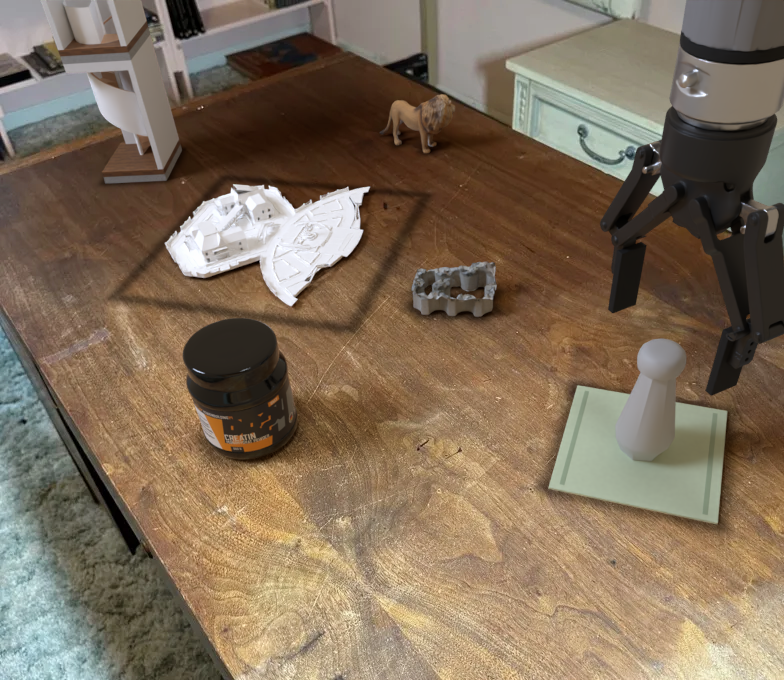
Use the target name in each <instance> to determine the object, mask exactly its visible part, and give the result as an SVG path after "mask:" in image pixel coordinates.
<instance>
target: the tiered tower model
mask: <svg viewBox="0 0 784 680" xmlns="http://www.w3.org/2000/svg"><path fill="white" fill-rule="evenodd" d="M39 2H40V3H41V7H42V9H43V13H44V15H45V18H46V20H47V23H48V26H49V30H50V33H51V35H52V37H53V40H54V43H55V46H56V49H57V51H58V54H59V58H60V60H61V63H62V66H63V69H64V72H65V73H66V75H70V74H86V76H87V78H88V81H89V84H90V87H91V90H92V93H93V96H94V99H95V102H96V105H97V107H98V110H99V112H100V114H101V115H102V117H103V118H104V119H105V120H106V121H107V122H109V124H111V125H112V126H114V127H116V128H119V129H120V131H121V133H122V136H123V137H122V138H123V140H124V141H121V142H120V143H119V144H118V146H117V148H116V149H115V151H114V152H113V154H112V155H111V156H110V158H109V160H108V162H107V163H106V164H105V166H104V168H103V170H102V171H101V175H102V178H103V180H104V183H105V184H121V183H123V184H124V183H125V184H126V183H127V184H128V183H145V182H167V181H168V179H169V177H170V175H171V173H172V171H173V169H174V167H175V165H176V164H177V161H178V159H179V157H180V155H181V153H182V152H183V149H182V144H181V140H180V138H179V134H178V130H177V127H176V126H177V125H176V123H175V120H174V116H173V111H172V109H171V105H170V104H171V103H170V101H169V98H168V94H167V90H166V85H165V82H164V79H163V75H162V72H161V68H160V64H159V60H158V57H157V53H156V49H155V46H154V42H153V39H152V34H151V30H150V28H149V24H148V20H147V16H146V13H145V10H144V5H143V2H142V0H39Z"/></svg>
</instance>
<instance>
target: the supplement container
mask: <svg viewBox="0 0 784 680" xmlns="http://www.w3.org/2000/svg"><path fill="white" fill-rule="evenodd" d="M182 360H183V364H184V367H185V370H186V377H185V384H186V388H187V392H188V394H189V395H190V397H191V399H192V402H193V404H194V408H195V410H196V414H197V416H198V419H199V422H200V425H201V428H202V432H203V436H204V439H205V441H206V442H207V444H208V445H209V447H210V448H211V449H212V450H213V451H215V452H216V453H217V454H219V455H221V456H224V457H226V458H229V459H234V460H241V461H242V460H244V461H245V460H255V459H259V458H263V457H266V456H268V455H271V454H273V453H275V452H276V451H278V450H280V449H282V447H284V446H285V445H286V444H287V443H288V442H289V441H290V440H291V438H292V437H293V436H294V435H295V433H296V430H297V427H298V423H299V413H298V410H297V407H296V403H295V399H294V395H293V390H292V385H291V380H290V376H289V366H288V365H289V364H288V361H287V359H286V357H285V354H284V353H283V352H282V351H281V350H280V347H279V343H278V337H277V336H276V333H275V331H274V329H272V328H271V327H270V326H269V325H268V324H266V323H264V322H263V321H260V320H257V319H253V318H247V317H233V318H232V317H231V318H225V319H221V320H218V321H214V322H212V323H209V324H207V325H205V326H203V327H201V328H200V329H198V330H197V331H196V332H195V333H193V334H192V335H191V336H190V337H189V338H188V340H187V341H186V342H185V344H184V346H183V349H182Z"/></svg>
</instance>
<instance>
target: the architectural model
mask: <svg viewBox="0 0 784 680" xmlns="http://www.w3.org/2000/svg"><path fill="white" fill-rule="evenodd" d="M370 188H371V186H364V187H358V188H354V189H350V188H349V186H347V187H344V188H342V189H336V190H335V191H332V192H327V194H326V193H325V194H323V195H319V200H317V201H315V202H313V200H312V199H309V201H307V202H306V203H304V202H303V204H301V205H300V206H299V207H297V208H294V207H293V204H292V203H290V202H289V200H288V199H286V196H285V195H284V196H282V192H281V191H280V190H279V188H278V187H275V186H272V185H268V188H265V184H262V185H250V184H249V185H248V184H237V183H236V184H234V183H233V184H232V186H231V187H230V192H229V193H227V194H222V195H220V196H218V197H216V198H214V197H212V199H209V198H208V200H206V201H205V200H203V201H202V202H201V204H200V205H199V206H197V208H196V210H194V211H192V215H193V217H192V218H191V216H188V218H187V220H185V221H184V223H182V225H180V226H179V227H180V231H179V232H177V230H175V231H174V233H173V235H170V236H169V239H168V240H167V241H165V242H164V245H165V248H166V250H167V251H168V253H169V254H170V256H171V258H172V260H173V261H174V263H176V264H177V265H178V268H179V270H180V271H181V273H182V274H183V275H184V276H185V277H192V278H193V277H195V278H203V279H206V278H211V277H212V276H216V275H218V274H222V273H224V272H228V271H231V270H234V269H237V268H239V267H243V266H247V265H249V264H252V263H255V262H258V261H259V265H260V266H259V269H260V273H261V274H262V279H263V280H264V282H265V285H266V286H267V288H268V289H269V291H271V293H272V294H273V295H274V296H275V297H276V298H278V299H279V300H280V301H281V302H282V303H284V304H286V305H287V306H289V307H293V306H294V304H295V303H296V302H297V301H299V299H298V298H296V297H298V295H299V294H300V293H301V292H302V291H304V290H305V289H306V288H307V287H308V286H309V285H310V284H311V282H312V280H313V279H314V277H315V275H316V273H318V272H319V271H320V270H322V269H324V268H325V269H326V268H329V267H330V268H331V267H333V266H334V265H335V264H336V263H337V262H339V261H340V260H341V259H342V258H344V257H345V258H348V256H349V255H351V253H352V252H353V251H354V250H355V249H356V247H357V245H358V244H359V243H360V241H361V239H362V236H363V234H364V229H361V220H362V219H361V215H360V208H359V207H360V206H363V198H364V195H365V194H366V193H369V190H370Z"/></svg>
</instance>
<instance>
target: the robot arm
mask: <svg viewBox="0 0 784 680" xmlns="http://www.w3.org/2000/svg"><path fill="white" fill-rule="evenodd" d="M674 65H675V66H674V70H673V76H672V81H671V88H670V93H669V104H670V105H671V106H670V107H669V108H668V109H667V110H666V113H665V117H664V124H663V128H662V135H661V139H659V140H656V141H652V142H650V143H649V142H648V143H646V144H644V145H640V146H638V147H637V148H636V150H635V154H634V158H633V163H632V167H631V170H630V171H629V173H628V175H627V177H626V178H625V180H624V181H623V183H622V184H621V186H620V188H619V189H618V191H617V193H616V195H615V196H614V198H613V200H612V201H611V203H610V205H609V206H608V208H607V209H606V211H605V213H604V214H603V216H602V217H601V219H600V221H599V226H600V229H601V231H602V232H604V233H607V232H608V233H609V234H610V235H611V237H610V239H611V244H612V246H613V251H612V260H611V266H610V271H611V274H612V279H611V280H612V281H611V287H610V293H609V300H608V306H607V310H608V311H609V312H610V313H611V314H616V313H618V312H621V311H624V310H626V309H629V308H631V307H634V306H636V305H637V301H638V295H639V289H640V285H641V284H640V283H641V278H642V273H643V269H644V261H645V256H646V251H647V244H646V243H644V242H643V241H640V242H637V241H638V240H642V239H644V238H646V237H647V234H649V233H650V232H652V231H653V230H654V229H656V228H657V227H658V226H660V225H661V224H662V223H664V222H665V221H667V220H668V219H669V218H670V217H671V218H672V223H673V224H675V225H676V226H678V227H681V228H683V229H686V230H687V231H688V233H689V234H691V235H692V236H693V237H694V238H695V239H698V240H700V243H701V246H702V250H703V252H704V253H705V254H706V255H708V256H710V258H711V260H712V264H713V267H714V271H715V274H716V278H717V282H718V284H719V287H720V292H721V295H722V297H723V302H724V305H725V308H726V312H727V317H728V319H729V322H730V326H728V327H726V328H723V329H722V330H721V331H722V332H721V335H720V338H719V341H718V345H717V350H716V352H715V356H714V359H713V362H712V366H711V370H710V373H709V376H708V380H707V383H706V387H705V393H707V394H708V395H709V396H711V397H712V396H715V395H717V394H720V393H722V392H724V391H726V390H729V389H731V388H733V387H736V386H737V385H738V382H739V379H740V376H741V373H742V371H743V367H744V366H747V365H748V364H749V365H750V363H751V362H752V361H753V360H754V356H755V353H756V350H757V348H758V346H759V345H761V344H763V343H766V342H768V341H771V340H773V339H776V338H778V337H780V336H783V335H784V243H783V233H784V203H782V202H777V203H774V204H772V205H766V204H765V203H762V202H759V201H757V200H755V197H754V183H755V180H756V179H757V177H758V175H759V174H760V172H761V171H762V170H763V168H764V166H765V165H766V162H767V160H768V156H769V153H770V149H771V146H772V143H773V138H774V135H775V132H776V128H777V124H778V117H777V113H778V112H780V110H781V109H782V107H783V105H784V0H685V5H684V12H683V18H682V24H681V30H680V36H679V42H678V48H677V53H676V58H675V64H674ZM659 179H660V180H661V183H662V188H663V190H662V192H661V193H660V194H659V195H658V196H656V197H655V198H654V199H652V200H651V201H650V202H648V203H647V207H646V208H644V209H643V210H642V211H640V212H639V213H638V214H637V212H638V211H639V209H640V208H641V206H642V205H643V203H644V201H645V200H646V198H647V197H648V196H649V194H650V193H651V191H652V190H653V188H654V187H655V185H656V183H657V182H658V181H659ZM636 214H637V215H636ZM728 229H730V231H731V234H730V236H728V237H725V238H722V239H719V237H718V235H720V234H722V233H724V232H726V231H727V230H728ZM748 316H749V318H747V317H748Z"/></svg>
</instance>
